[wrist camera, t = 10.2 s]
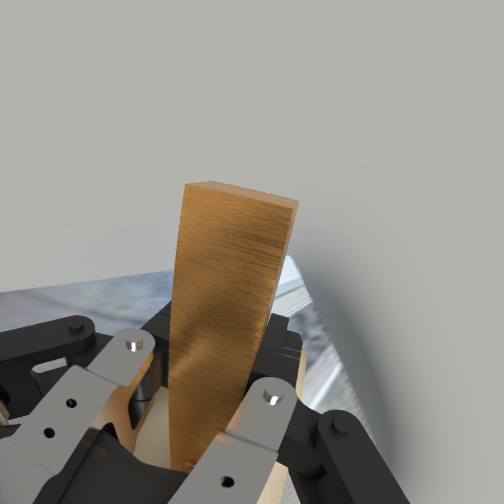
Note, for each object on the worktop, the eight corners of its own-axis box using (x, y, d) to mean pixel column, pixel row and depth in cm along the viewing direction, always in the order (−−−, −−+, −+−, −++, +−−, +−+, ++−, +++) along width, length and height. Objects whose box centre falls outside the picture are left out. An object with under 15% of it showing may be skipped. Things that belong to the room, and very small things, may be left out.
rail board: (50, 550, 3) (35, 545, 2) (207, 336, 27) (209, 321, 27) (227, 628, 1) (233, 635, 1) (301, 365, 26) (307, 350, 25)
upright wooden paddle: (120, 525, 6) (-47, 215, 2) (192, 408, 16) (226, 173, 11) (201, 560, 6) (388, 414, 1) (252, 429, 15) (328, 197, 10)
